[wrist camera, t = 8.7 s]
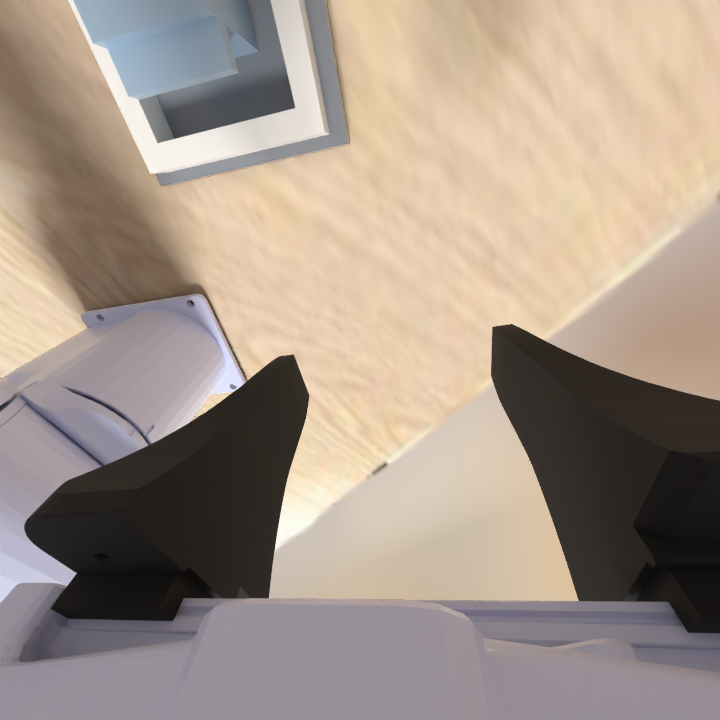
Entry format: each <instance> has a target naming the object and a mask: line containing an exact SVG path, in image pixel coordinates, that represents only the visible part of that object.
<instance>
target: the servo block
mask: <svg viewBox="0 0 720 720" xmlns="http://www.w3.org/2000/svg"><path fill="white" fill-rule="evenodd" d="M73 1H74V3H75V5H76V7H77V10H78V12H79V14H80V16H81V18H82V20H83V23H84V25H85V27H86V29H87V31H88V33H89V36H90V38H91V40H92V42H93V44H96V45H99V46H101V47H104V48H106V49H108V51H109V54H110V56H111V58H112V60H113V63H114V65H115V67H116V69H117V72H118V74H119V76H120V78H121V81H122V83H123V85H124V87H125V90H126V92H127V94H128V96H129V97H131V98H136V99H144V98H147V97H151V96H155V95H159V94H162V93H166V92H170V91H174V90H177V89H181V88H185V87H189V86H192V85H196V84H200V83H203V82H207V81H211V80H215V79H218V78H222V77H226V76H230V75H233V74H237V73H239V72H238V68H237V65H236V61H235V58H236V57H240V56H244V55H247V54H251V53H255V52H258V51H259V49H258V45H257V41H256V37H255V33H254V29H253V26H252V22H251V18H250V14H249V10H248V6H247V2H246V0H73Z"/></svg>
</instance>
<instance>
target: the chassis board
mask: <svg viewBox="0 0 720 720" xmlns="http://www.w3.org/2000/svg"><path fill="white" fill-rule="evenodd" d="M68 1H69V3H70V5H71V7H72V10H73V12H74V14H75V16H76V18H77V20H78V22H79V24H80V26H81V29H82V31H83V33H84V35H85V37H86V39H87V41H88V43H89V45H90V48H91V50H92V52H93V54H94V56H95V58H96V60H97V62H98V64H99V67H100V69H101V71H102V73H103V75H104V77H105V79H106V81H107V83H108V86H109V88H110V90H111V92H112V94H113V96H114V98H115V100H116V102H117V105H118V107H119V109H120V111H121V113H122V115H123V117H124V119H125V121H126V124H127V126H128V128H129V130H130V132H131V134H132V136H133V138H134V140H135V143H136V145H137V147H138V149H139V151H140V153H141V155H142V157H143V159H144V162H145V164H146V166H147V168H148V170H149V172H150V174H153V173H155V174H156V176H157V178H158V180H159V182H160V185H161V186H168V185H174V184H179V183H183V182H187V181H192V180H196V179H200V178H205V177H209V176H214V175H218V174H222V173H227V172H231V171H235V170H240V169H244V168H248V167H253V166H257V165H262V164H266V163H270V162H275V161H279V160H283V159H288V158H292V157H296V156H301V155H305V154H310V153H314V152H318V151H323V150H327V149H331V148H336V147H340V146H344V145H349V144H350V141H349V135H348V129H347V123H346V117H345V111H344V104H343V98H342V92H341V86H340V80H339V74H338V68H337V62H336V56H335V50H334V44H333V38H332V32H331V25H330V19H329V13H328V7H327V1H326V0H246V2H247V6H248V10H249V14H250V18H251V22H252V26H253V29H254V33H255V37H256V41H257V45H258V49H259V51H258V52H255V53H251V54H247V55H244V56H240V57H236V58H235V61H236V65H237V68H238V72H239V73H237V74H233V75H230V76H226V77H222V78H218V79H215V80H211V81H207V82H203V83H200V84H196V85H192V86H189V87H185V88H181V89H177V90H174V91H170V92H166V93H162V94H159V95H155V96H151V97H147V98H144V99H136V98H131V97H129V96H128V94H127V92H126V90H125V87H124V85H123V83H122V81H121V78H120V76H119V74H118V72H117V69H116V67H115V65H114V63H113V60H112V58H111V56H110V54H109V51H108V49H106V48H104V47H101V46H99V45H96V44H93V42H92V40H91V38H90V36H89V33H88V31H87V29H86V27H85V25H84V23H83V20H82V18H81V16H80V14H79V12H78V10H77V7H76V5H75V3H74V1H73V0H68Z"/></svg>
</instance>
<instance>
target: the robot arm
mask: <svg viewBox="0 0 720 720" xmlns="http://www.w3.org/2000/svg"><path fill="white" fill-rule="evenodd" d="M190 300H191V301H193V302H194V305H193V304H191V303H190ZM102 316H103V317H104V318H103V317H102ZM81 318H82V320H83V322H84V323H85V324H86V326H87V327H88V328H87V329H85V330H84V331H82V332H80V333H78V334H77V335H75V336H73V337H71V338H70V339H68V340H66V341H65V342H63V343H61V344H59V345H58V346H56V347H54V348H52V349H51V350H49V351H47V352H45V353H44V354H42V355H40V356H38V357H37V358H35V359H33V360H31V361H30V362H28V363H26V364H24V365H23V366H21V367H19V368H17V369H16V370H14V371H13V372H11V373H10V374H8V375H7V376H6V377H4V378H0V720H720V401H718V400H714V399H709V398H704V397H701V396H696V395H692V394H688V393H684V392H680V391H676V390H673V389H669V388H666V387H662V386H659V385H655V384H652V383H648V382H645V381H642V380H638V379H635V378H632V377H629V376H626V375H624V374H621V373H618V372H615V371H612V370H609V369H607V368H604V367H601V366H599V365H596V364H594V363H591V362H589V361H586V360H584V359H582V358H580V357H577V356H575V355H573V354H571V353H568V352H566V351H564V350H562V349H560V348H558V347H556V346H554V345H552V344H550V343H548V342H546V341H544V340H542V339H540V338H538V337H536V336H535V335H533V334H531V333H529V332H527V331H525V330H523V329H521V328H519V327H517V326H515V325H512V324H510V325H503V326H496V327H493V331H492V363H491V376H492V380H493V383H494V386H495V389H496V391H497V394H498V397H499V400H500V402H501V404H502V406H503V408H504V410H505V412H506V414H507V416H508V418H509V420H510V421H511V423H512V425H513V427H514V429H515V431H516V433H517V435H518V437H519V439H520V441H521V443H522V445H523V447H524V449H525V451H526V452H527V455H528V457H529V459H530V461H531V464H532V466H533V469H534V471H535V474H536V476H537V479H538V481H539V484H540V487H541V490H542V492H543V495H544V498H545V501H546V503H547V506H548V509H549V511H550V514H551V517H552V520H553V523H554V526H555V528H556V532H557V535H558V538H559V541H560V544H561V546H562V549H563V552H564V555H565V558H566V561H567V565H568V568H569V571H570V574H571V577H572V581H573V584H574V587H575V590H576V593H577V597H578V599H579V601H482V600H481V601H480V600H479V601H478V600H477V601H476V600H402V599H275V598H274V599H273V598H271V599H270V598H269V590H270V581H271V572H272V564H273V557H274V550H275V543H276V536H277V530H278V524H279V518H280V512H281V506H282V501H283V496H284V492H285V487H286V482H287V478H288V474H289V470H290V467H291V464H292V461H293V458H294V454H295V451H296V448H297V445H298V442H299V439H300V436H301V432H302V429H303V426H304V423H305V419H306V414H307V408H308V401H309V394H308V391H307V388H306V386H305V383H304V381H303V378H302V375H301V373H300V370H299V367H298V365H297V362H296V359H295V357H294V355H287V356H280V357H278V358H276V359H274V360H273V361H272V362H270V363H269V364H268V365H266V366H265V367H264V368H263V369H261V370H260V371H259V372H258V373H257V374H255V375H254V376H253V377H252V378H250V379H249V380H248V381H247V382H246V380H245V378H244V376H243V374H242V372H241V370H240V368H239V366H238V364H237V362H236V360H235V357H234V355H233V353H232V351H231V349H230V347H229V345H228V343H227V341H226V339H225V337H224V334H223V332H222V330H221V328H220V326H219V324H218V322H217V320H216V318H215V316H214V314H213V312H212V309H211V307H210V305H209V303H208V301H207V299H206V298H205V297H204V296H203V295H202V294H197V293H196V294H190V295H184V296H178V297H172V298H166V299H159V300H153V301H147V302H141V303H135V304H129V305H123V306H116V307H110V308H104V309H98V310H92V311H87V312H85V313H83V314H82V315H81ZM232 384H234V385H235V386H233V385H232ZM226 392H233V393H232V394H230V395H229V396H228V397H226V398H225V399H224V400H222V401H221V402H220V403H218V404H217V405H216V406H214V407H213V408H211V409H210V410H208V411H207V412H205V413H204V414H202V415H201V416H199V417H198V418H196V419H195V420H193V421H191V420H192V418H193V417H194V416H195V414H196V413H197V412H198V410H199V409H200V408H201V406H202V405H203V404H204V402H205V401H206V400H207V398H208V397H209V396H210V394H216V393H226ZM190 421H191V422H190Z"/></svg>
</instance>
